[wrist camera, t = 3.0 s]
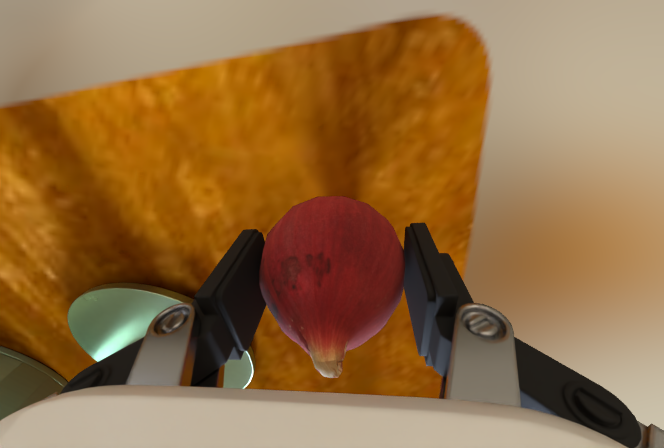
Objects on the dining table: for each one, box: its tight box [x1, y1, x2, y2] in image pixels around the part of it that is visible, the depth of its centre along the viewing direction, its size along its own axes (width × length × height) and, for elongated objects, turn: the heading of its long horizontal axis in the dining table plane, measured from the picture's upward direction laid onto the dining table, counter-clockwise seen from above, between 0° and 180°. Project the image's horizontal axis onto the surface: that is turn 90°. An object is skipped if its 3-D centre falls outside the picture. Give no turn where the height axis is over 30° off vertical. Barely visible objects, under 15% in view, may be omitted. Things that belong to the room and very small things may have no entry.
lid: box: [68, 283, 255, 389], centre depth 18 cm, size 15×15×7 cm
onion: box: [259, 196, 405, 378], centre depth 10 cm, size 6×6×8 cm
